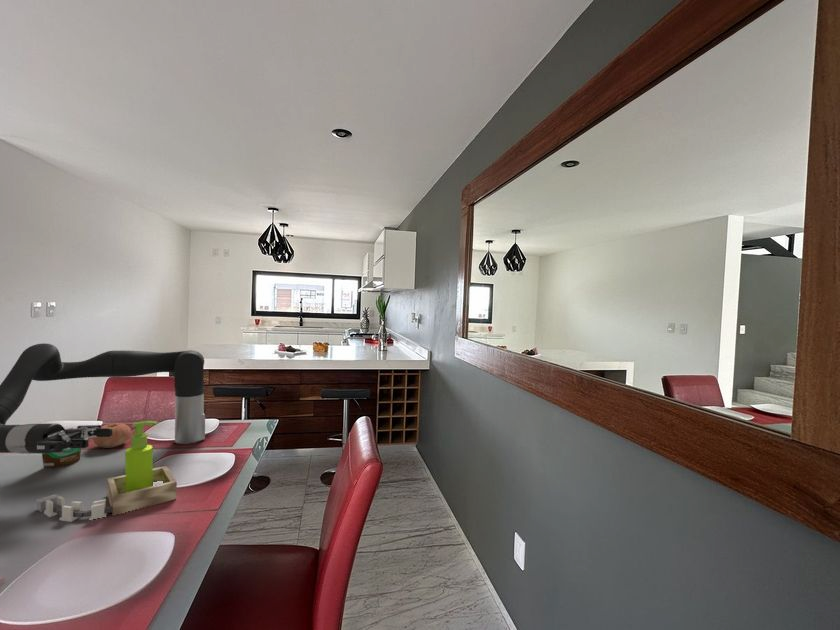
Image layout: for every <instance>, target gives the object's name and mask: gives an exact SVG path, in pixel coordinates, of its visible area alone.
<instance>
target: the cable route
mask: <svg viewBox="0 0 840 630" xmlns="http://www.w3.org/2000/svg"><path fill="white" fill-rule="evenodd" d="M106 502H107V499H106V498H104V499H100V500H95V501H92V505H91V510H90V509H89V510H83V501H75V500H74V501H71V504H70V505H71V506H70V505H65V503H66V501H65V498H64V497H63V496H61V495H58V494H56V493H55V494H51V495H49V496H46V497H45V496H44V497H41V498H39V499H36V510H37V511H38V510H39V511H40V513H43V514H44V515H45V516H47V517H48V518H51V517H55V516H57V515H58V516H60V517H59V521H62V522H70V523H72V522H74V521H76V520H77V519H80V518H88V517H89V518H88V521H89V520H91V521H94V520H93V519H96V520H98V519H97V518H100V519H103V518H102V517H105V518H107V516H106V515H108V513H112V506H110V505H109V506H107V505H106V504H107V503H106ZM45 510H46V511H45ZM39 511H38V512H39Z"/></svg>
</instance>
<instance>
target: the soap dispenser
mask: <svg viewBox="0 0 840 630" xmlns="http://www.w3.org/2000/svg"><path fill="white" fill-rule="evenodd" d="M149 425H150V426H155V425H158V421H157V420H142V421H138V422H137V421H136V422H133V423H132V426H131V427H132V428H134V429H135V431H134V434H133V435H131V436H130V441H131V442H130V444H131V445H130V446H131V447H128V448H127V449H126V450H125V452H124V453H125V454H124V455H125V459H124V461H125V462H124V463H125V468H124V469H125V474H124V475H126V492H130V491H135V490H139V489H143V488H147V487H151V486H153V469H154V467H153V466H154V465H153V463H154V462H153V459H154V458H153V453H154V452H153V448H154V447H153V445H151V444H148V434H147V433H145V432H144V426H149Z"/></svg>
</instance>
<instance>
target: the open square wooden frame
mask: <svg viewBox="0 0 840 630" xmlns="http://www.w3.org/2000/svg"><path fill="white" fill-rule="evenodd" d="M157 481H163V484H159V485H155V486H151V487H147V488H143V489H139V490H135V491H130V492H126V474H124V475H119V476H113V477H108V478H107V499H108V502H109V506H112V512H111V514H112V516H113V515H115V516H117V515H116V514H119V515H121V513H122V514H125V512H126V513H129V512H128V511H130V512H133V511H136V510H135V509H137V510H140V508H141V509H144V508H148V507H150V506H154V505H155V506H156V505H159V504H163V503H166V502H170V501H173V500H177V494H178V491H177V489H178V483H177V480H176V479H175V477H174V476H173V474H172V472H171V471H170V469H169V468H168V466H167V465H163V466H160V467H153V482H157ZM147 506H148V507H147ZM143 507H144V508H143ZM132 510H133V511H132Z"/></svg>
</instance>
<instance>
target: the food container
mask: <svg viewBox="0 0 840 630" xmlns="http://www.w3.org/2000/svg"><path fill="white" fill-rule="evenodd" d="M83 437H84V435H83V436H81V438H83ZM81 454H82V448H71V449H69V450H65V449H63V451H62V452H59V453H58V452H52V453H41V457H42V466H43V469H56V468H62V467H67V466H71V465H74V464H76V463H78V462H79V461H80V460H81Z"/></svg>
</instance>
